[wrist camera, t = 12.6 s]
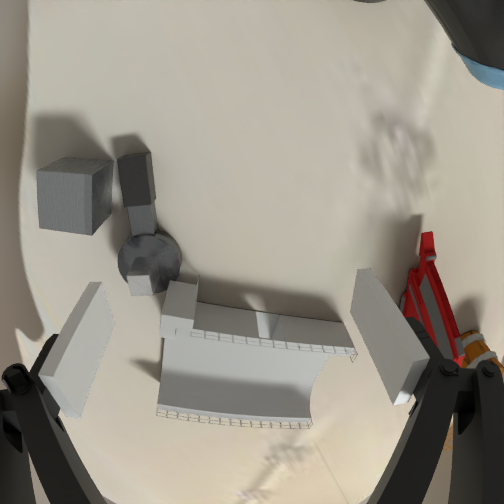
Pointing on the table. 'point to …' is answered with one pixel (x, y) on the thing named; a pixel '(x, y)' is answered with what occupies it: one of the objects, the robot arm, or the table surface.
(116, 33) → the table surface
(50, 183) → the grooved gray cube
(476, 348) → the mug
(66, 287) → the table surface
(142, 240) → the ratchet
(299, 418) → the skate ramp
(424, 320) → the tool
